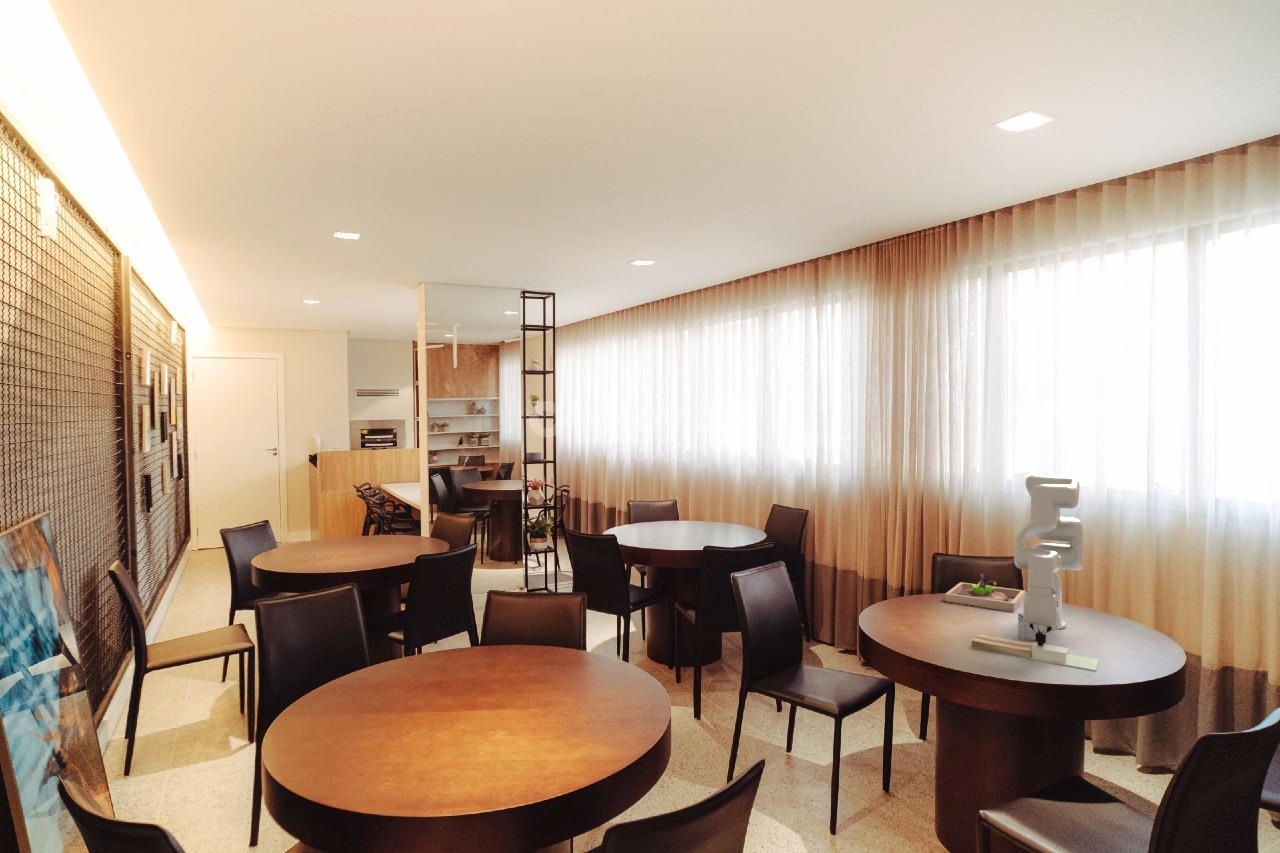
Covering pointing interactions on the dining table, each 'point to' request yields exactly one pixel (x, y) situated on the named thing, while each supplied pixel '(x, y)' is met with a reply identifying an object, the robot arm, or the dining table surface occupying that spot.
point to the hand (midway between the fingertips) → (1040, 644)
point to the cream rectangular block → (1050, 652)
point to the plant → (984, 591)
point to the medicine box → (1026, 629)
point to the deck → (1002, 645)
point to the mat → (1074, 662)
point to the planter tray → (988, 603)
